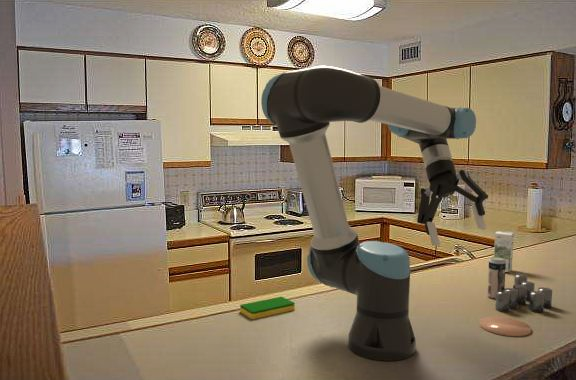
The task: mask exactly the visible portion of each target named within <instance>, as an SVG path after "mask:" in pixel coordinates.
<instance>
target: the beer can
mask: <svg viewBox="0 0 576 380" xmlns="http://www.w3.org/2000/svg"><path fill="white" fill-rule="evenodd" d="M505 270H506V262H505V260H504V259H503V258H499V257H494V256H493V257H490V258H489V260H488V273H487V290H486V291H487V292H486V293H487V297H489V298H490V299H492V298H493V299H494V300H496V291H504V290H505V289H506V287H505V285H506V273H505Z"/></svg>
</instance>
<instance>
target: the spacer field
mask: <svg viewBox="0 0 576 380" xmlns="http://www.w3.org/2000/svg"><path fill="white" fill-rule="evenodd" d="M513 282H514V283H513V285H512V287H511V288H510V287H507V288H506V287H505V290H504V291H496V299H495V311H498V312H501V313H508V312H510V310H517V309H518V306H525V305H527V304H526V303H527V302H529V309H528V310H529V311H530V312H533V313H541V314H543V313H544V311H545V310H544V309H551V308H552V302H553V288H552V289H551V288H549V287H538V288H537V289H538V290H535V285H536V284H535V282H533V281H528V275H527V274H524V273H523V274H522V273H516V274H514V281H513Z"/></svg>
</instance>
